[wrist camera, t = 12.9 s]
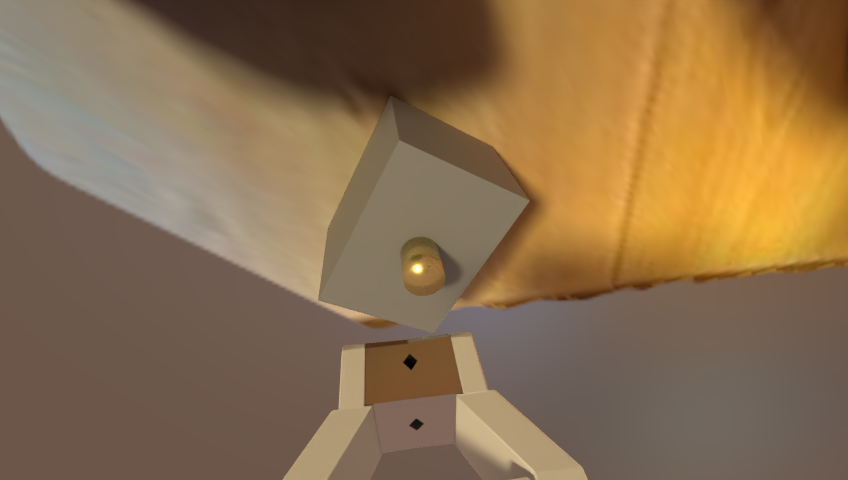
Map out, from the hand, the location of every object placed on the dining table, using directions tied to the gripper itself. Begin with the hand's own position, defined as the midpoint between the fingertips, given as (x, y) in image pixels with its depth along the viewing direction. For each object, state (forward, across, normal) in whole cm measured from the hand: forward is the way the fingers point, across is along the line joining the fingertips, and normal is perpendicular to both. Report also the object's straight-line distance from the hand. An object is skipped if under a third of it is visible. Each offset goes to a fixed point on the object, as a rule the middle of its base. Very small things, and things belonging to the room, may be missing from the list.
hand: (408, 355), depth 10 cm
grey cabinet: (+37, -2, +15) cm, 40 cm away
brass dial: (+24, -2, +15) cm, 28 cm away
